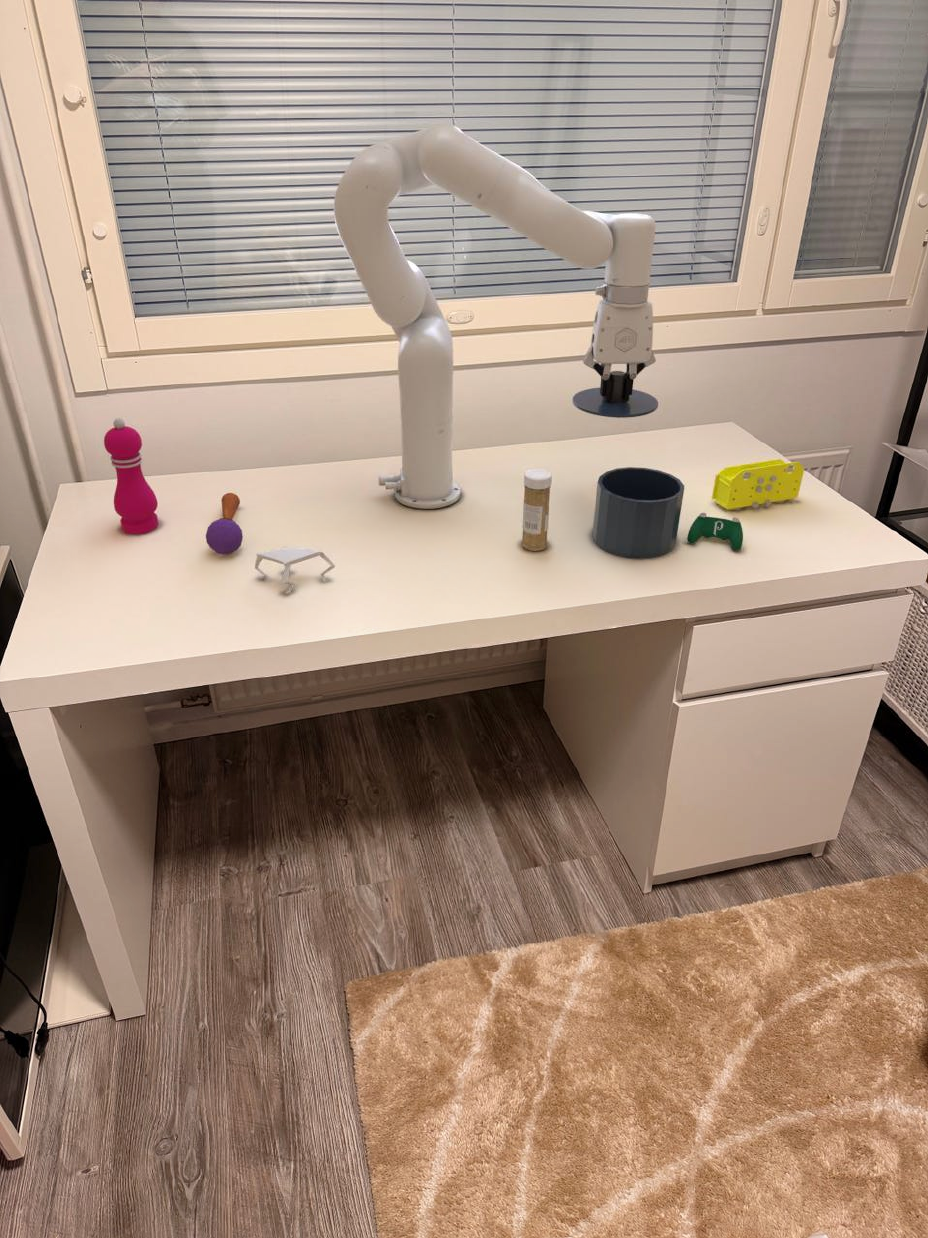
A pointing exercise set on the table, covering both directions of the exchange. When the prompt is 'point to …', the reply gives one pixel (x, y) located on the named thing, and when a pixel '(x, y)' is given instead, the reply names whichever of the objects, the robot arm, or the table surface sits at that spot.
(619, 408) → the lid
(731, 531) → the gaming controller
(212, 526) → the purple maraca
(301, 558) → the grey toy table
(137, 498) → the pepper mill
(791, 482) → the yellow toy chassis
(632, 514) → the pot
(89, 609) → the table surface
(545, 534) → the sprinkles bottle
